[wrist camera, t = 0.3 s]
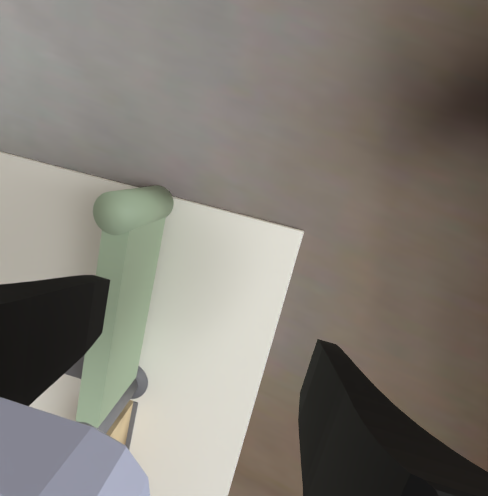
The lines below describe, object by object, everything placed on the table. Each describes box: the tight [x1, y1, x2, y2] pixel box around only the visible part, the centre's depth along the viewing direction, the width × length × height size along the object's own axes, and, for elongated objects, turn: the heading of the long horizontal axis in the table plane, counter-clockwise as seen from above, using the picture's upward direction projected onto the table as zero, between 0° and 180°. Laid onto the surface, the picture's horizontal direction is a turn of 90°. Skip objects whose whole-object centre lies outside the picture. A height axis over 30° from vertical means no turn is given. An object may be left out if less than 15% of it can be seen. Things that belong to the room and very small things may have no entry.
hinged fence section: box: [76, 186, 174, 434], centre depth 18 cm, size 13×2×5 cm, turn 167°
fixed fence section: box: [106, 400, 133, 445], centre depth 21 cm, size 8×2×5 cm, turn 167°
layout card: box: [0, 151, 304, 496], centre depth 22 cm, size 22×20×1 cm
